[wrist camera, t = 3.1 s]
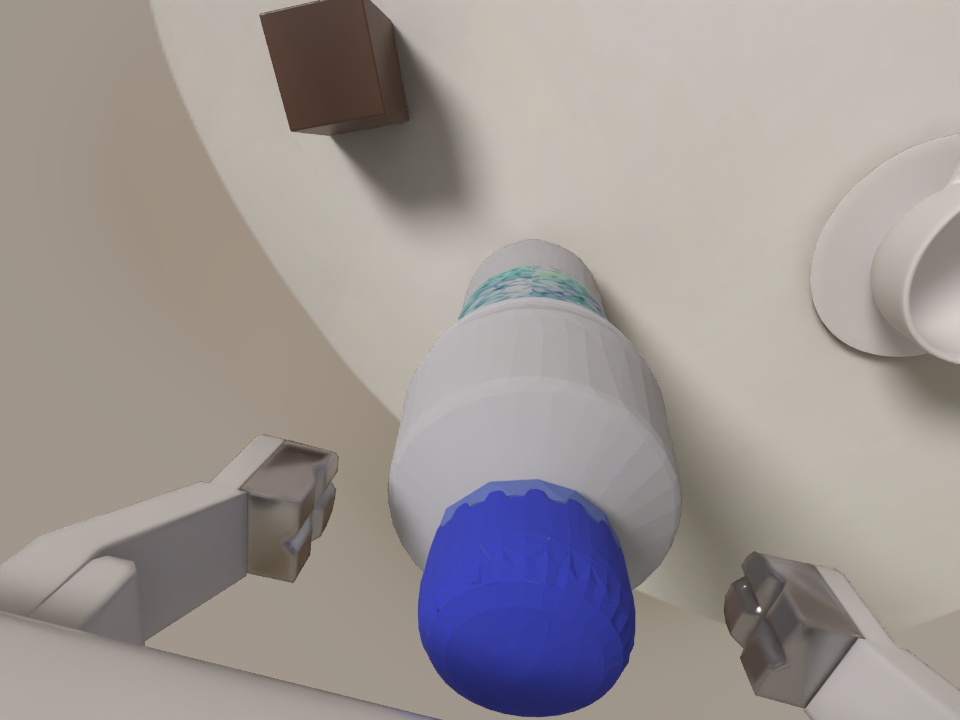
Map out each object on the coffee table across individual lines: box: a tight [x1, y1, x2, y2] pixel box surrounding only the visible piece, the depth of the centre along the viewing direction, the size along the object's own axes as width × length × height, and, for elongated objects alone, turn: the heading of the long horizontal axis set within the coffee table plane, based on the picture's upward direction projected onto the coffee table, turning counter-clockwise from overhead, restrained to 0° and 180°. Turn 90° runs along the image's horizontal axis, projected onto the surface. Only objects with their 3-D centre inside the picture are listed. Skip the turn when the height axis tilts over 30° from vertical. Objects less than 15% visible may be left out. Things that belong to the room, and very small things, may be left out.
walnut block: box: [259, 0, 409, 136], centre depth 20 cm, size 4×4×4 cm
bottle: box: [388, 239, 682, 717], centre depth 16 cm, size 7×7×20 cm
